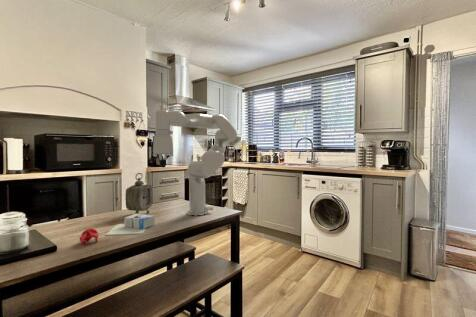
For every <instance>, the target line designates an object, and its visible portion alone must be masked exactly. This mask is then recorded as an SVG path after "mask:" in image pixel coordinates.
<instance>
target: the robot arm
mask: <svg viewBox="0 0 476 317" xmlns="http://www.w3.org/2000/svg"><path fill="white" fill-rule="evenodd" d="M154 115H155V116H154V117H155V135H154V137H153V142H152V144H153V145H152V156H153V157H156V158H157V159H158V160H159V161H160V163H159V164H160V167H161V168H166V166H167V160H168V159H169V158H170V157H174V143H173V142H174V141H173V137H172V135H173V133H174V132H173V131H172V130H171V127H180V128H191V129H192V128H197V129H206V130H207V129H208V130H209V129H210V130H215V129H218V130H216V131H215V134H214V144H213V145H212V146H211V147H210V148H208V149H207V150H206V151H205V152H204V153H203V154H202V156H201V158H200V160H201V161H200V160H194V161H192V162H190V163H189V164H188V166H187V174H188V175H187V176H188V182H189V184H188V185H189V187H188V188H189V189H188V190H189V191H188V194H189V197H188V198H189V200H188V201H189V203H188V204H189V210H187V211H186V215H188V216H191V215H194V216H195V217H198V216H197V215H201V216H204V214H205V215H208V213H209V211H213V210H214V207H213V206H207V204H206V181H205V179H208V178H210V177H212V176H214V174H215V173H216V172H217V171H218V170H219V169H221V167H222V166H223V164H224V162H225V159H226V158H225V155H224V154H225V152H226V143H230V142H231V143H232V142H234V141H236V139H237V138H238V133H237V130H236V129H235V127H234V126H233V125H232V123H231V122H230V121H229V119H228V118H227V117H225V115H223V114H219V113H218V114H204V113H198V112H197V113H186V114H185V113H184V112H182V111H180V110H166V109H165V110H164V109H158V110H156V111H155V114H154ZM163 155H164V156H163ZM194 216H193V217H194Z"/></svg>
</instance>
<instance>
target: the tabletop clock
mask: <svg viewBox="0 0 476 317" xmlns="http://www.w3.org/2000/svg"><path fill="white" fill-rule="evenodd" d="M138 175H141V178H140V177H138V178H137V176H138ZM135 179H136V181H135V182H134V185H131V186H128V187H127V188H126V189H125V208H126V209H127V210H129V211H135V212H134V214H140V212H143V211H146V213H147V214H149V213H150V208H151V207H152V205H153V189H152V184H144V181H142V179H143V173H141V172H138V173H136V174H135Z"/></svg>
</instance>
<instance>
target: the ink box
mask: <svg viewBox="0 0 476 317" xmlns="http://www.w3.org/2000/svg"><path fill="white" fill-rule="evenodd" d="M155 223H156V222H155V214H154V215H152V214H150V215H149V214H143V213H142V214H141V213H139V214H135V213H134V214H131V215H128V216H125V217H124V222H123V224H124V227H131V228H139V229H145V228H146V229H147V228H150V227H152V226H154V225H155Z"/></svg>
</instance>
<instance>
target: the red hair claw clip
mask: <svg viewBox="0 0 476 317" xmlns="http://www.w3.org/2000/svg"><path fill="white" fill-rule="evenodd" d="M93 238H94V239H95V242H96V243H98V238H99V233H98V231H97V229H94V228H87V229H85V230H84V231H83V232H82V233H81V236H80V237H79V241H80V243H81V244H82V245H84V246H85V245H87V242H88V241H90V240H92V239H93ZM86 241H87V242H86Z"/></svg>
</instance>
